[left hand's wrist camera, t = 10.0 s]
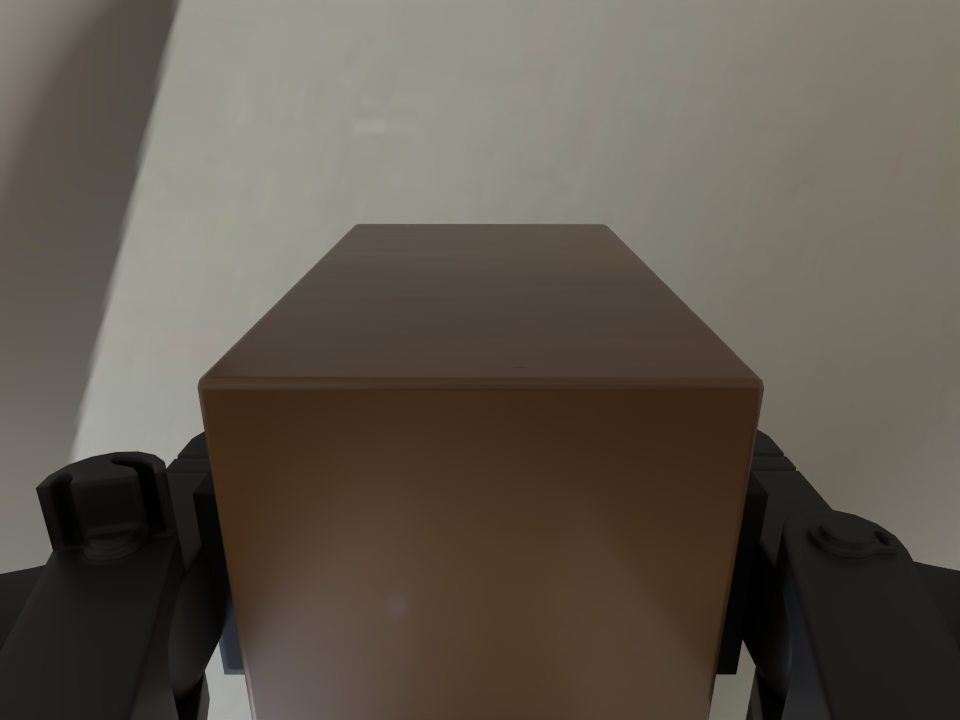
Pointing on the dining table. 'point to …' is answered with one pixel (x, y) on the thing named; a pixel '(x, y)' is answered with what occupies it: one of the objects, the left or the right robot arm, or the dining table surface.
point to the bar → (480, 482)
